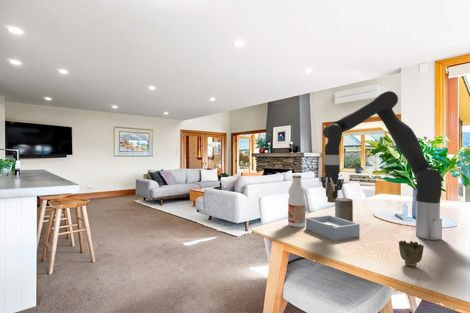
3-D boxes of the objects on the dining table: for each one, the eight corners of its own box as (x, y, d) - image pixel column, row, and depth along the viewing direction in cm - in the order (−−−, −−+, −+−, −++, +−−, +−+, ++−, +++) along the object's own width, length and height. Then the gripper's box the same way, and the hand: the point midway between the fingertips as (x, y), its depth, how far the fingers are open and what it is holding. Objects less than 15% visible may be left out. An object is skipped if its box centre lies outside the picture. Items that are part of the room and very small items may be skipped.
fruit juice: (303, 228, 138) (303, 176, 137) (286, 226, 142) (286, 175, 142) (306, 224, 146) (307, 175, 146) (290, 222, 150) (290, 174, 150)
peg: (337, 202, 130) (337, 182, 129) (331, 202, 128) (331, 182, 128) (331, 200, 133) (331, 181, 133) (325, 201, 132) (325, 182, 132)
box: (359, 236, 125) (359, 224, 125) (334, 240, 118) (334, 227, 118) (329, 225, 143) (329, 215, 143) (306, 229, 137) (306, 218, 136)
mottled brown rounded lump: (401, 268, 90) (401, 245, 90) (396, 260, 97) (396, 239, 97) (426, 271, 87) (426, 248, 87) (419, 263, 94) (420, 241, 94)
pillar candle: (356, 223, 149) (356, 197, 149) (346, 225, 143) (346, 198, 143) (341, 219, 157) (341, 195, 157) (331, 222, 151) (331, 196, 151)
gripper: (348, 164, 125) (348, 199, 126) (327, 163, 138) (327, 195, 139) (337, 164, 122) (336, 200, 123) (316, 163, 135) (316, 195, 136)
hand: (331, 197), depth 131 cm, fingers closed on peg, 4 cm apart
